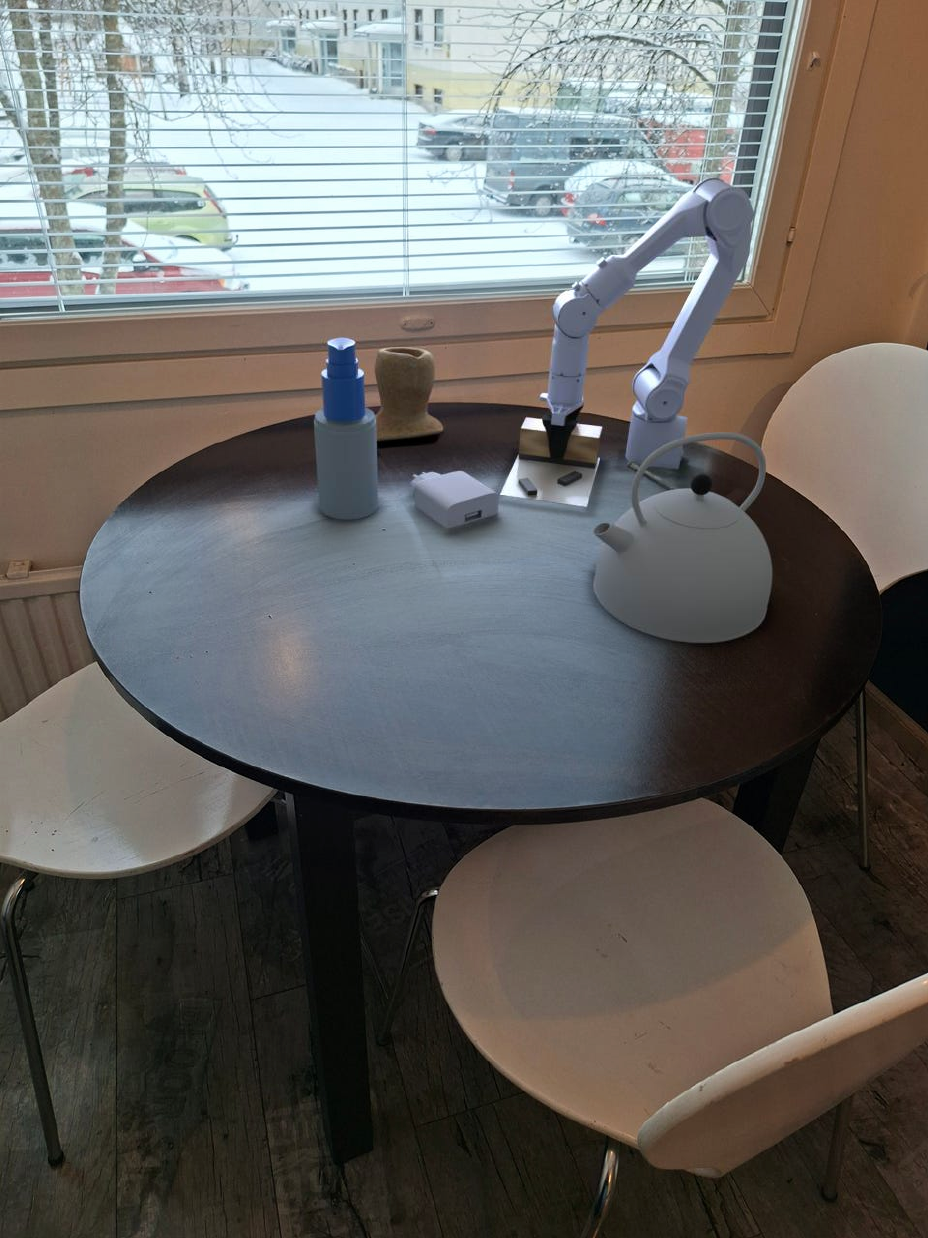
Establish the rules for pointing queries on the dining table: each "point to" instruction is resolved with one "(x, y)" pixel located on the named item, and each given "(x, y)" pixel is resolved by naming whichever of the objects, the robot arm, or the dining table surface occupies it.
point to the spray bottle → (345, 438)
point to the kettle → (686, 560)
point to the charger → (454, 498)
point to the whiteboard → (550, 482)
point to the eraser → (579, 446)
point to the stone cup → (404, 393)
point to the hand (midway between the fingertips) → (559, 450)
